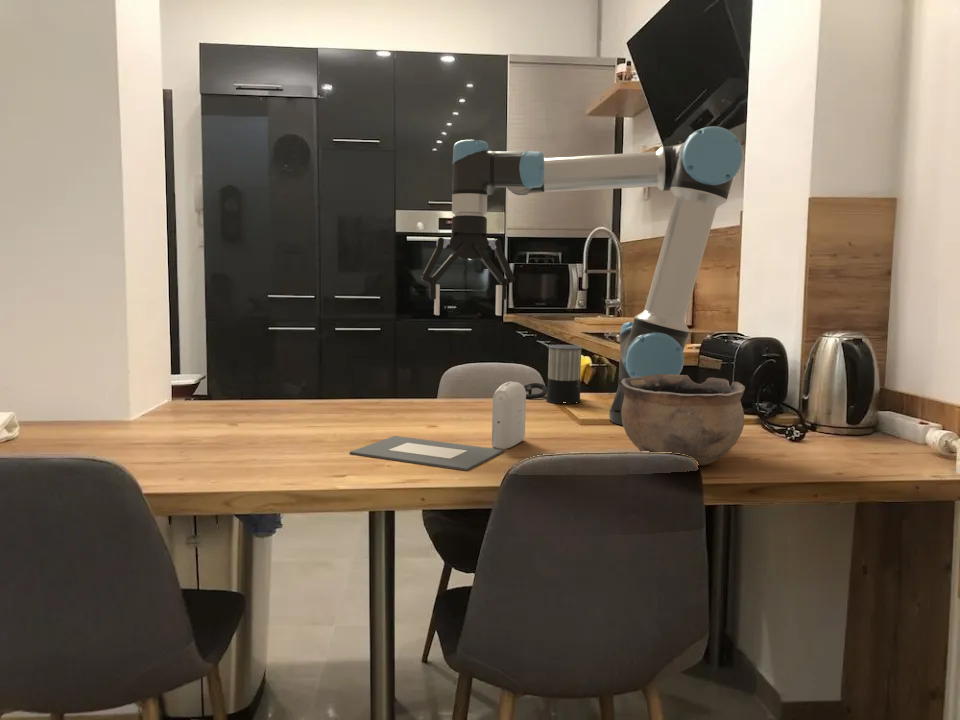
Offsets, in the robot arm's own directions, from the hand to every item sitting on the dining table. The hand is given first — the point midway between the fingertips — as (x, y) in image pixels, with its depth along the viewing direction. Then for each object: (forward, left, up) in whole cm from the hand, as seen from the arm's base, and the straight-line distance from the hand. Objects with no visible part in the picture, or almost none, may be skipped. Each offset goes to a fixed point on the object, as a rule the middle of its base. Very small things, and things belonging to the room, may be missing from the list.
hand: (467, 315), depth 169 cm
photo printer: (-15, +12, -25) cm, 31 cm away
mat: (-5, +27, -24) cm, 37 cm away
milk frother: (-4, -43, -25) cm, 50 cm away
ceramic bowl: (-48, +10, -25) cm, 55 cm away
